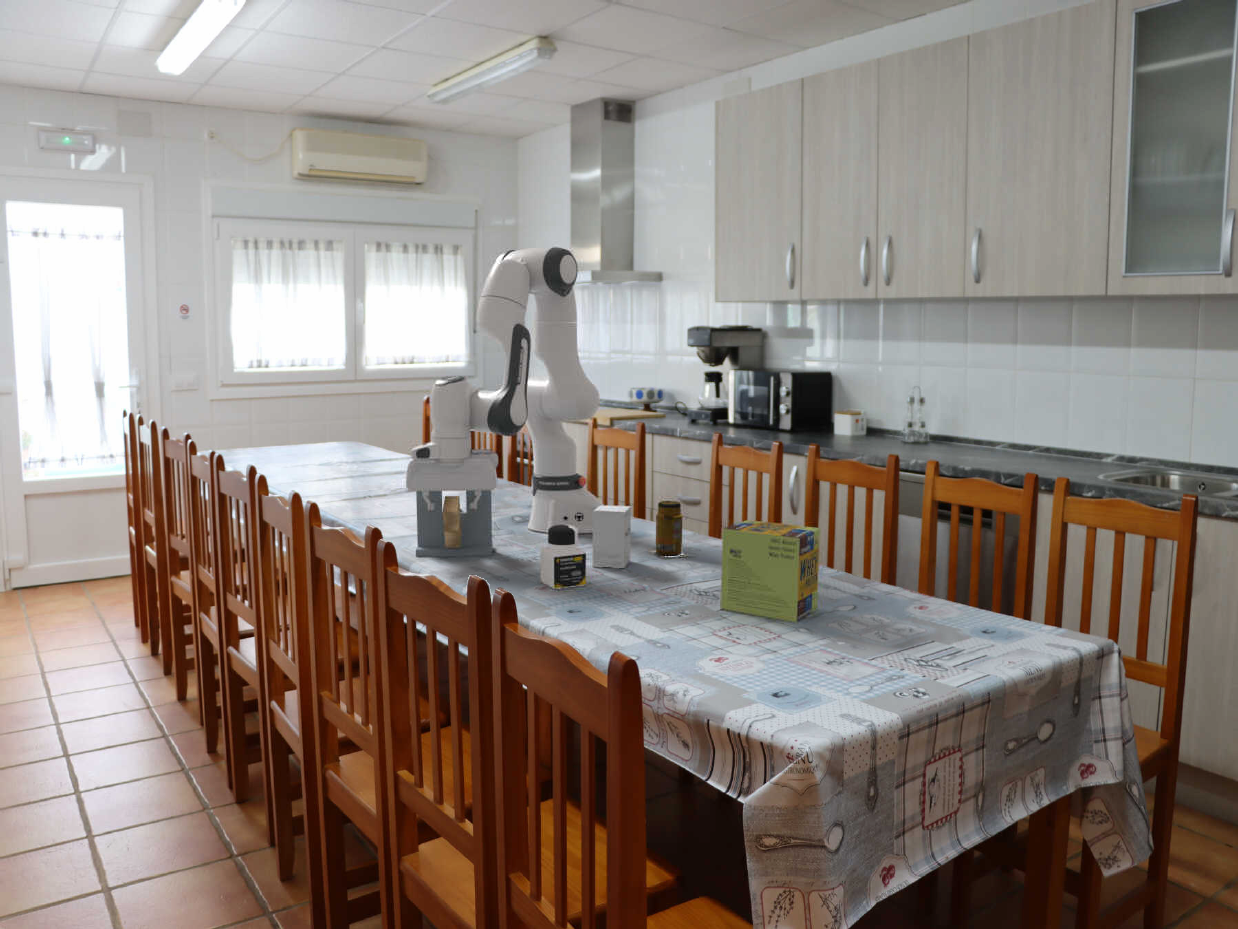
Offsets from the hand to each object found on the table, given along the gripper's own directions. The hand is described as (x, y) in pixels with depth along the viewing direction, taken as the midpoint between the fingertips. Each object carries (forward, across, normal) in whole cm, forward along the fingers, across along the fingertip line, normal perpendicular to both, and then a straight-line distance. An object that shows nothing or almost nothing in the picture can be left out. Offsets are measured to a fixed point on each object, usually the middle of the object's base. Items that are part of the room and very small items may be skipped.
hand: (452, 510), depth 220 cm
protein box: (+11, -62, +46) cm, 78 cm away
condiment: (+11, -50, 0) cm, 51 cm away
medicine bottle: (+11, -24, +26) cm, 37 cm away
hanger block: (+6, 0, -3) cm, 7 cm away
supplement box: (+11, -36, +10) cm, 38 cm away
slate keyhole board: (+11, 0, -4) cm, 12 cm away
